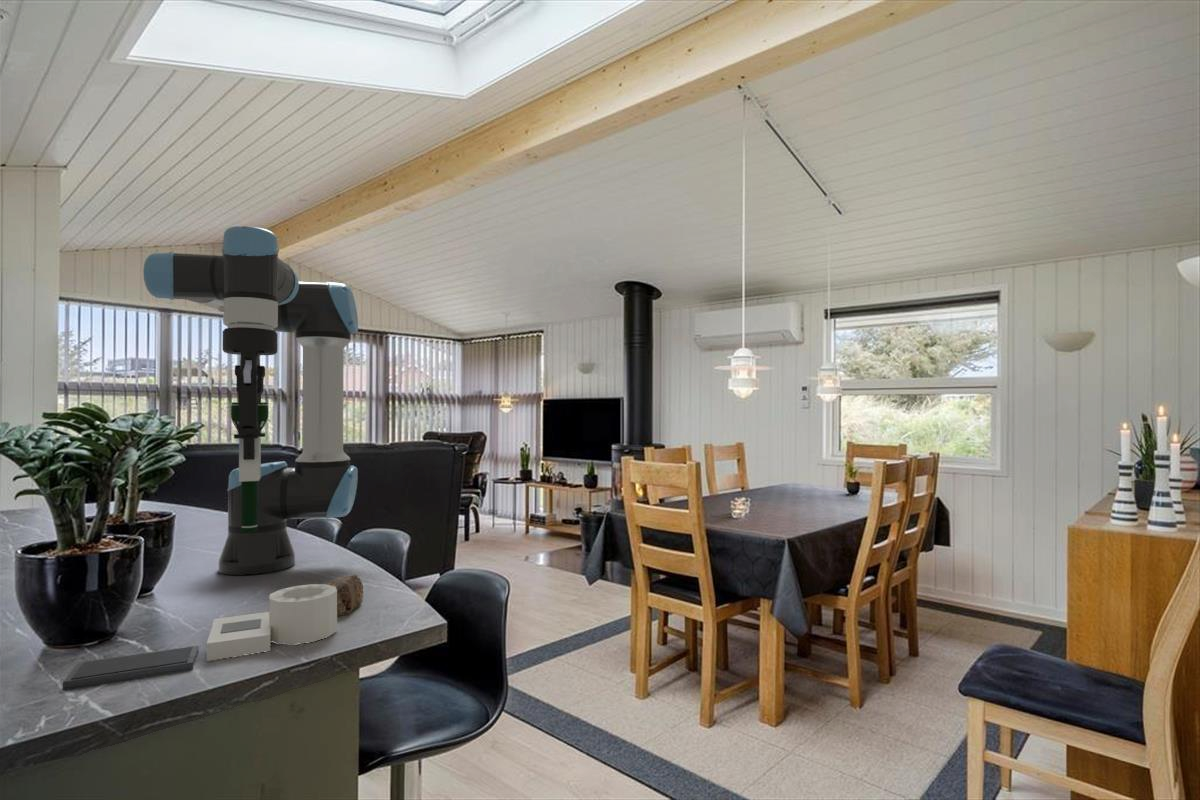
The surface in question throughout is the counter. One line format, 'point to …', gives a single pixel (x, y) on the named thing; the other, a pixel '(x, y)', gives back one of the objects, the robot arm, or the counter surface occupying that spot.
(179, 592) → the counter surface
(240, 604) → the counter surface
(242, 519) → the flashlight
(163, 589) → the counter surface
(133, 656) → the phone
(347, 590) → the rock
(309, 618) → the block
